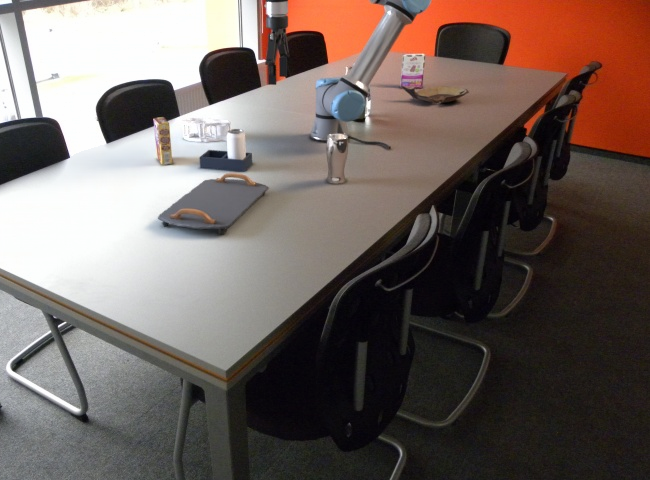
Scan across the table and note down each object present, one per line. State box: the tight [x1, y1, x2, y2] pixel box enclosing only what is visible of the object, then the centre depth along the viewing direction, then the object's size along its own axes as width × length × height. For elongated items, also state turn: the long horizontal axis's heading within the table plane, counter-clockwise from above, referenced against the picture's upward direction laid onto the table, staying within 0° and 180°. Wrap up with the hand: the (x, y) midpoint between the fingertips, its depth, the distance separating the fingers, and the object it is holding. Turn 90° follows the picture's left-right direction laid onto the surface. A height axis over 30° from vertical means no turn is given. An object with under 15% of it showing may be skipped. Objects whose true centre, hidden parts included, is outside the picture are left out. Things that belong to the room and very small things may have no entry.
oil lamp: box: [400, 85, 470, 104], centre depth 291 cm, size 22×30×8 cm
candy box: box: [153, 116, 173, 166], centre depth 224 cm, size 9×4×15 cm, turn 20°
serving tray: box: [157, 172, 270, 236], centre depth 184 cm, size 39×23×6 cm, turn 158°
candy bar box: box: [400, 53, 426, 89], centre depth 315 cm, size 11×5×16 cm, turn 80°
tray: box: [198, 149, 253, 173], centre depth 220 cm, size 17×9×4 cm, turn 71°
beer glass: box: [325, 133, 349, 185], centre depth 200 cm, size 7×7×15 cm
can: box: [226, 128, 247, 160], centre depth 216 cm, size 6×6×12 cm
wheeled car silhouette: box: [181, 117, 231, 143], centre depth 250 cm, size 20×11×7 cm, turn 66°
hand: (277, 80), depth 218 cm, fingers open, 13 cm apart
